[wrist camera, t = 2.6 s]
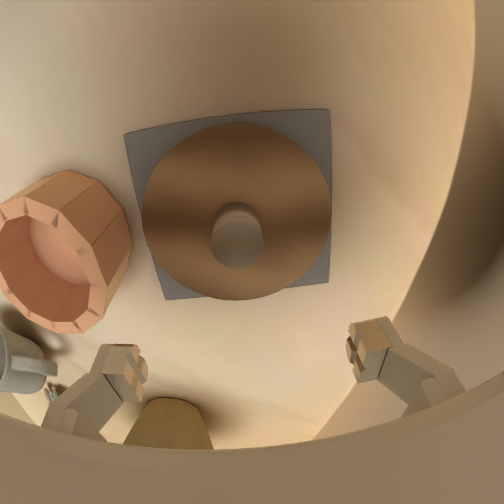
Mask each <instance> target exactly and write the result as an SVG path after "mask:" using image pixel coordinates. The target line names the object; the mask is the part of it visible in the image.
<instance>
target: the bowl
mask: <svg viewBox="0 0 504 504" xmlns="http://www.w3.org/2000/svg"><path fill="white" fill-rule="evenodd" d="M132 245H133V241H132V238H131V234H130V231H129V227H128V224H127V220H126V216H125V213H124V209H123V208H122V207H121V205H120V204H119V203H118V202H117V201H116V200H115V199H114V198H113V196H112V195H111V194H110V193H109V192H108V191H107V189H106V188H105V187H104V186H103V185H102V184H101V182H100V181H98V180H95V179H93V178H90V177H87V176H84V175H81V174H79V173H76V172H73V171H70V170H67V171H63V172H60V173H57V174H54V175H51V176H48V177H45V178H42V179H40V180H39V181H37V182H35V183H33V184H32V185H30V186H28V187H27V188H25V189H23V190H22V191H20V192H18V193H17V194H15V195H13V196H12V197H10V198H9V199H7V200H6V201H4V202H3V203H1V204H0V288H1V290H2V292H3V294H4V295H5V296H6V297H7V298H8V299H9V301H10V302H11V303H12V304H13V305H14V306H15V307H16V308H17V309H18V310H19V311H20V312H21V313H22V314H23V315H24V316H25V317H26V318H27V319H29V320H31V321H33V322H35V323H37V324H39V325H41V326H43V327H45V328H47V329H49V330H51V331H53V332H55V333H80V334H83V333H85V332H86V331H87V330H88V329H90V328H91V327H92V326H94V325H95V324H96V323H97V322H99V321H100V320H101V319H103V317H104V315H105V312H106V310H107V308H108V306H109V304H110V302H111V300H112V298H113V296H114V294H115V292H116V290H117V288H118V286H119V284H120V282H121V280H122V278H123V276H124V274H125V272H126V270H127V265H128V261H129V257H130V253H131V249H132Z"/></svg>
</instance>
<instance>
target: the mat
mask: <svg viewBox="0 0 504 504" xmlns="http://www.w3.org/2000/svg"><path fill="white" fill-rule="evenodd" d="M238 123H239V124H251V125H256V126H261V127H265V128H268V129H270V130H273V131H276V132H278V133H280V134H282V135H284V136H285V137H287V138H289V139H291V140H292V141H293V142H295V143H296V144H297V145H299V146H300V147H301V148H302V149H303V150H304V151H305V152H306V153H307V154H308V155H309V156H310V157H311V158H312V159H313V160H314V162H315V163H316V164H317V166H318V167H319V169H320V171H321V173H322V174H323V176H324V178H325V181H326V184H327V186H328V189H329V193H330V198H331V208H332V153H331V123H330V110H328V109H320V110H286V111H269V112H256V113H245V114H236V115H227V116H219V117H212V118H205V119H198V120H192V121H186V122H180V123H174V124H169V125H164V126H159V127H154V128H149V129H145V130H140V131H136V132H132V133H128V134H124V139H125V144H126V150H127V155H128V160H129V165H130V170H131V175H132V179H133V184H134V188H135V193H136V197H137V201H138V205H139V209H140V213H141V211H142V200H143V196H144V192H145V188H146V185H147V183H148V180H149V178H150V176H151V174H152V172H153V171H154V169H155V167H156V166H157V164H158V163H159V162H160V160H161V159H162V158H163V157H164V156H165V155H166V154H167V153H168V152H169V151H170V150H171V149H172V148H173V147H174V146H175V145H177V144H178V143H180V142H181V141H182V140H184V139H185V138H187V137H188V136H190V135H192V134H194V133H196V132H198V131H201V130H204V129H207V128H210V127H213V126H218V125H223V124H238ZM141 217H142V213H141ZM330 246H331V226H330V230H329V235H328V238H327V240H326V243H325V246H324V248H323V250H322V251H321V253H320V255H319V257H318V258H317V260H316V261H315V262H314V264H313V265H312V266H311V267H310V268H309V269H308V271H307V272H306V273H305V274H303V275H302V276H301V277H300V278H299V279H298V280H296V281H295V282H293V283H292V284H290V285H289V286H287V287H285V288H291V287H299V286H306V285H314V284H322V283H328V282H329V266H330ZM150 251H151V250H150ZM151 254H152V252H151ZM152 258H153V261H154V264H155V268H156V271H157V274H158V278H159V281H160V284H161V287H162V290H163V293H164V296H165V299H166V300H174V299H186V298H197V297H208V296H204V295H202V294H199V293H197V292H194V291H192V290H190V289H188V288H186V287H184V286H183V285H181V284H180V283H178V282H177V281H176V280H174V279H173V278H172V277H171V276H170V275H169V274H167V273H166V272H165V270H164V269H163V268H162V267H161V266H160V265H159V263H158V262H157V260H156V259H155V258H154V256H153V254H152Z"/></svg>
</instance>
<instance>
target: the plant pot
mask: <svg viewBox="0 0 504 504" xmlns="http://www.w3.org/2000/svg"><path fill="white" fill-rule="evenodd" d="M123 444H124V445H132V446H141V447H152V448H165V449H188V450H214V449H213V446H212V443H211V440H210V437H209V434H208V432H207V429H206V426H205V424H204V421H203V419H202V417H201V414H200V412H199V410H198V409H197V408H196V407H195V406H194V405H192V404H190V403H188V402H186V401H183V400H179V399H174V398H157V399H154V400H151V401H150V402H149V403H148V404H147V405H146V407H145V408H144V410H143V411H142V413H141V414H140V416H139V417H138V419H137V420H136V422H135V424H134V425H133V427H132V428H131V430H130V432H129V434H128V436H127V437H126V439H125V441H124V443H123Z"/></svg>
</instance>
